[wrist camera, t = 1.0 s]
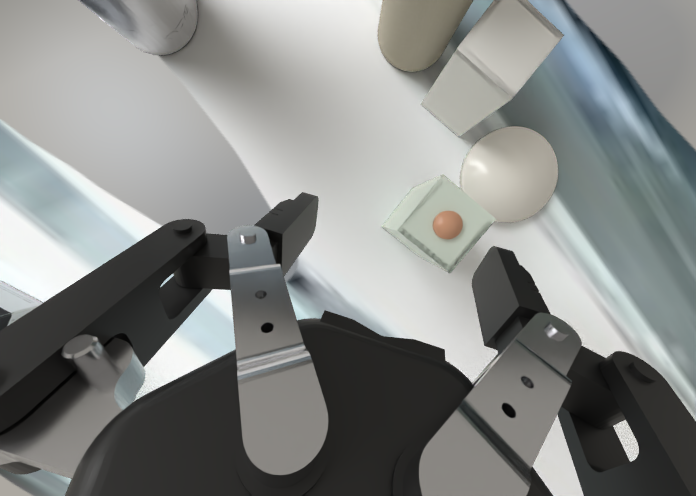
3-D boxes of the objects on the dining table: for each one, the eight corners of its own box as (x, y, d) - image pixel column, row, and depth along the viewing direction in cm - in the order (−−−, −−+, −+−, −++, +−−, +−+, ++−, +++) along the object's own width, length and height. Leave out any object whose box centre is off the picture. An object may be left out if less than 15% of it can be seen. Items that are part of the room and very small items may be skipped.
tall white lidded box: (420, 103, 30) (456, 48, 20) (453, 61, 30) (507, -18, 20) (458, 137, 31) (512, 98, 21) (492, 95, 30) (564, 35, 20)
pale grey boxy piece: (381, 226, 32) (398, 230, 22) (412, 188, 31) (444, 173, 21) (418, 256, 32) (451, 274, 22) (449, 218, 32) (498, 219, 21)
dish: (441, 184, 31) (445, 183, 30) (502, 110, 30) (508, 105, 29) (507, 240, 32) (513, 241, 31) (568, 169, 31) (577, 167, 30)
